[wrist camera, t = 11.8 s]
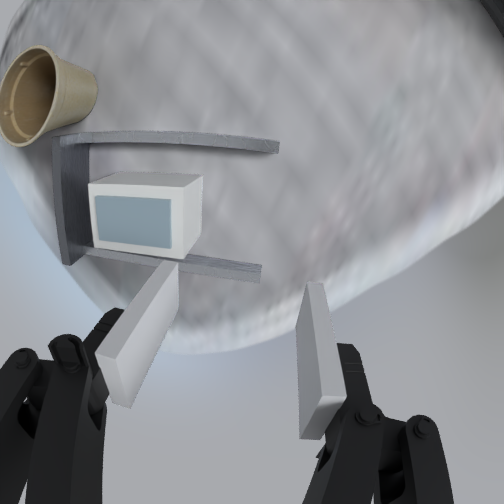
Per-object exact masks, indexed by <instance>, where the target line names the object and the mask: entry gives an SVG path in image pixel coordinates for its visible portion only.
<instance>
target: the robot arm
mask: <svg viewBox="0 0 504 504" xmlns="http://www.w3.org/2000/svg"><path fill="white" fill-rule="evenodd" d="M178 309H179V297H178V262H173V261H167V260H163V261H162V262H161V264H160V265H159V266H158V267H157V269H156V270H155V271H154V273H153V274H152V275H151V276H150V278H149V279H148V280H147V282H146V283H145V284H144V285H143V287H142V288H141V289H140V291H139V292H138V293H137V295H136V296H135V297H134V299H133V300H132V301H131V303H130V304H129V305H128V307H127V308H126V309H125V310H123V309H119V308H113V309H112V310H110V311H108V312H107V313H105V314H104V316H103V317H102V318H101V320H100V321H99V323H97V324H96V326H95V327H94V330H92V331H91V332H90V334H89V335H88V336H87V337H86V339H85V340H84V341H83V342H82V341H81V339H80V338H79V337H77V336H75V335H71V334H64V335H60V336H57V337H56V338H54V339H53V340H52V341H51V342H50V343H49V345H48V347H49V350H50V352H51V355H52V357H53V359H54V361H51V360H41V359H39V358H38V356H37V354H36V353H35V351H33V350H32V349H29V348H21V349H19V350H16V351H15V352H14V353H13V354H12V355H11V356H10V357H9V358H8V360H7V361H6V362H5V364H4V365H3V366H2V368H1V369H0V504H18V503H19V500H20V497H21V495H22V492H23V489H24V487H25V484H26V482H27V489H26V499H25V504H102V471H103V451H104V437H105V426H106V415H107V407H106V403H105V401H106V399H107V397H108V395H110V398H111V400H112V402H113V403H115V404H118V405H121V406H124V407H127V408H130V409H131V407H132V405H133V402H134V400H135V398H136V396H137V394H138V392H139V390H140V387H141V385H142V383H143V381H144V379H145V377H146V375H147V372H148V370H149V368H150V366H151V364H152V362H153V360H154V358H155V356H156V354H157V352H158V350H159V348H160V346H161V343H162V341H163V339H164V337H165V335H166V333H167V331H168V329H169V327H170V325H171V323H172V321H173V319H174V317H175V315H176V313H177V311H178ZM296 343H297V364H298V388H299V389H298V390H299V425H300V426H299V432H300V439H311V440H312V439H313V440H320V439H321V438H322V436H323V435H324V433H325V438H326V443H325V445H324V446H323V448H322V449H321V450H320V452H319V453H318V455H317V456H316V458H319V460H318V463H317V466H316V468H315V471H314V474H313V477H312V480H311V482H310V485H309V488H308V490H307V493H306V496H305V498H304V501H303V503H302V504H371V501H372V496H373V494H374V504H454V501H453V495H452V489H451V483H450V479H449V473H448V468H447V464H446V459H445V455H444V451H443V447H442V443H441V439H440V435H439V431H438V428H437V426H436V424H435V422H434V421H433V420H431V418H429V417H427V416H424V415H416V416H412V417H411V418H410V419H409V420H408V421H407V422H404V421H399V420H395V419H390V418H388V417H385V416H384V414H383V413H382V411H381V410H380V409H379V408H378V407H377V406H376V405H374V404H373V403H372V399H371V395H370V391H369V387H368V383H367V379H366V376H365V373H364V368H363V365H362V361H361V357H360V353H359V352H358V351H357V350H356V348H355V347H354V346H353V345H352V344H342V343H336V339H335V334H334V330H333V325H332V320H331V316H330V312H329V307H328V303H327V299H326V295H325V290H324V286H323V283H316V282H308V281H307V284H306V288H305V292H304V296H303V300H302V304H301V308H300V312H299V316H298V320H297V323H296ZM26 397H27V400H26V401H25V402H24V400H25V399H26ZM27 479H28V480H27Z"/></svg>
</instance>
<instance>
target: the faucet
mask: <svg viewBox="0 0 504 504" xmlns="http://www.w3.org/2000/svg"><path fill="white" fill-rule="evenodd" d="M480 1H481V3H482V4H483V5H484V7H485V8H486V10H487V11H488V13H489V14H490V16H491V17H492V19H493V20H494V22H495V24H496V25H497V27H498V28H499V30H500V32H501V33H502V35H503V37H504V0H480Z"/></svg>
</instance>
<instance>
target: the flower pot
mask: <svg viewBox="0 0 504 504" xmlns="http://www.w3.org/2000/svg"><path fill="white" fill-rule="evenodd" d="M97 93H98V86H97V84H96V81H95V78H94V75H93V74H92V73H91V72H90V71H88V70H85V69H83V68H81V67H78V66H76V65H73V64H71V63H69V62H67V61H64V60H62V59H60V58H59V57H58V56H57V55H55V53H54V52H53V51H52V50H51V49H50V48H48V47H46V46H42V45H36V46H32V47H29V48H27V49H26V50H24V51H23V52H21V53H20V54H19V55H18V56H17V57H16V58H15V59H14V60H13V62H12V63H11V64H10V66H9V68H8V69H7V71H6V73H5V75H4V78H3V80H2V82H1V85H0V133H1V135H2V137H3V138H4V140H5V141H6V142H7V143H8V144H10V145H11V146H15V147H24V146H27V145H29V144H31V143H33V142H34V141H35V140H37V139H38V138H39V137H40V136H42V135H43V134H44V133H45V132H48V131H51V130H54V129H57V128H60V127H63V126H66V125H69V124H73V123H77V122H79V121H80V120H82V119H83V118H85V117H86V116H87V115H88V114H89V113H90V112H91V110H92V108H93V106H94V104H95V102H96V98H97Z"/></svg>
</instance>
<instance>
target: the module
mask: <svg viewBox="0 0 504 504" xmlns="http://www.w3.org/2000/svg"><path fill="white" fill-rule="evenodd" d="M202 187H203V175H200V174H182V173H160V172H118V173H115V174H112V175H109V176H107V177H104V178H101V179H99V180H96V181H94V182H91V183H89V184H88V191H89V204H90V215H91V225H92V233H93V241H94V248H102V249H109V250H116V251H124V252H131V253H138V254H146V255H154V256H161V257H169V258H177V259H184V258H185V257H186V255H187V254H188V252H189V251H190V249H191V248H192V246H193V245H194V243H195V242H196V241H197V239H198V238H199V236H200V235H201V216H202Z"/></svg>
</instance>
